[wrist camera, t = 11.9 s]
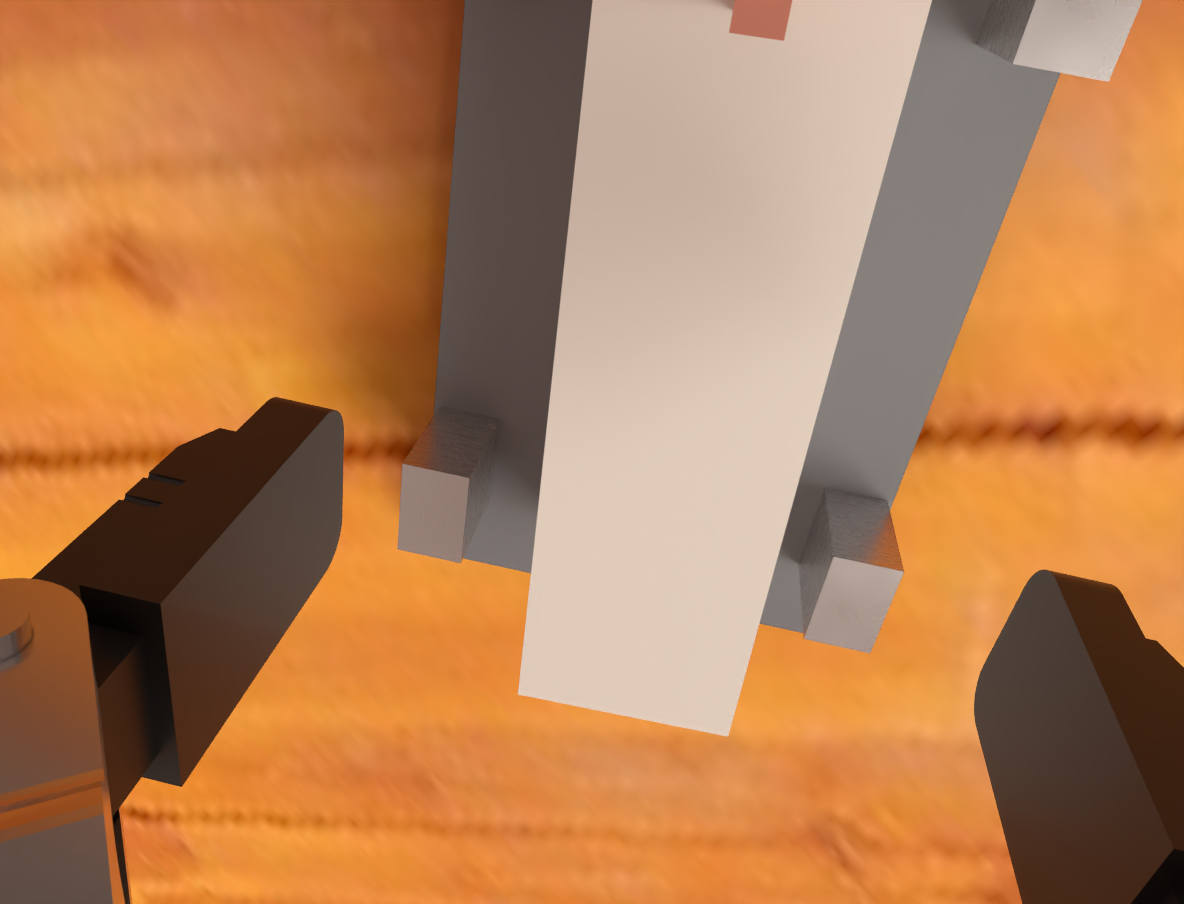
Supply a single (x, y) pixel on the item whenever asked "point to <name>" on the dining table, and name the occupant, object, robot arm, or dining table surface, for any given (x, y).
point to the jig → (871, 323)
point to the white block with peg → (699, 331)
